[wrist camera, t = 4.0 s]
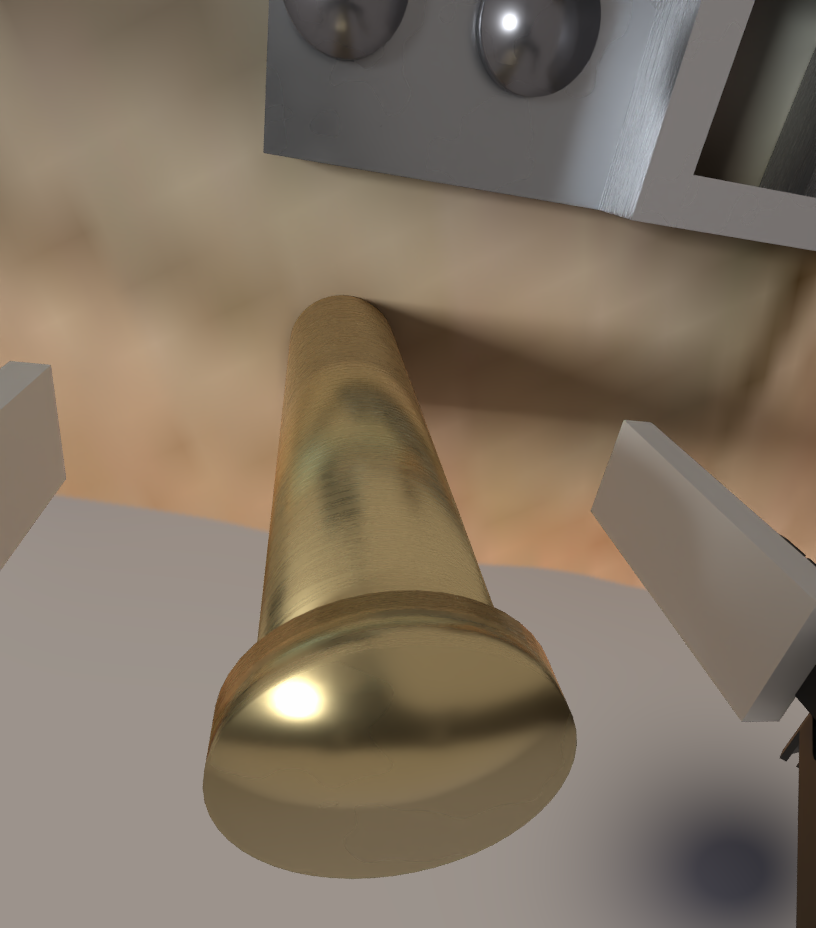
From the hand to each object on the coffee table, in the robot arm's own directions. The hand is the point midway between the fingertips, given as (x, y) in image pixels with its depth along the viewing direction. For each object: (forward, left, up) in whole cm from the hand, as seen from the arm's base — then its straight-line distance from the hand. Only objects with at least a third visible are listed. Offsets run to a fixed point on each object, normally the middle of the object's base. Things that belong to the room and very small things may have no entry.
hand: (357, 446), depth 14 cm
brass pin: (0, 0, -7) cm, 6 cm away
